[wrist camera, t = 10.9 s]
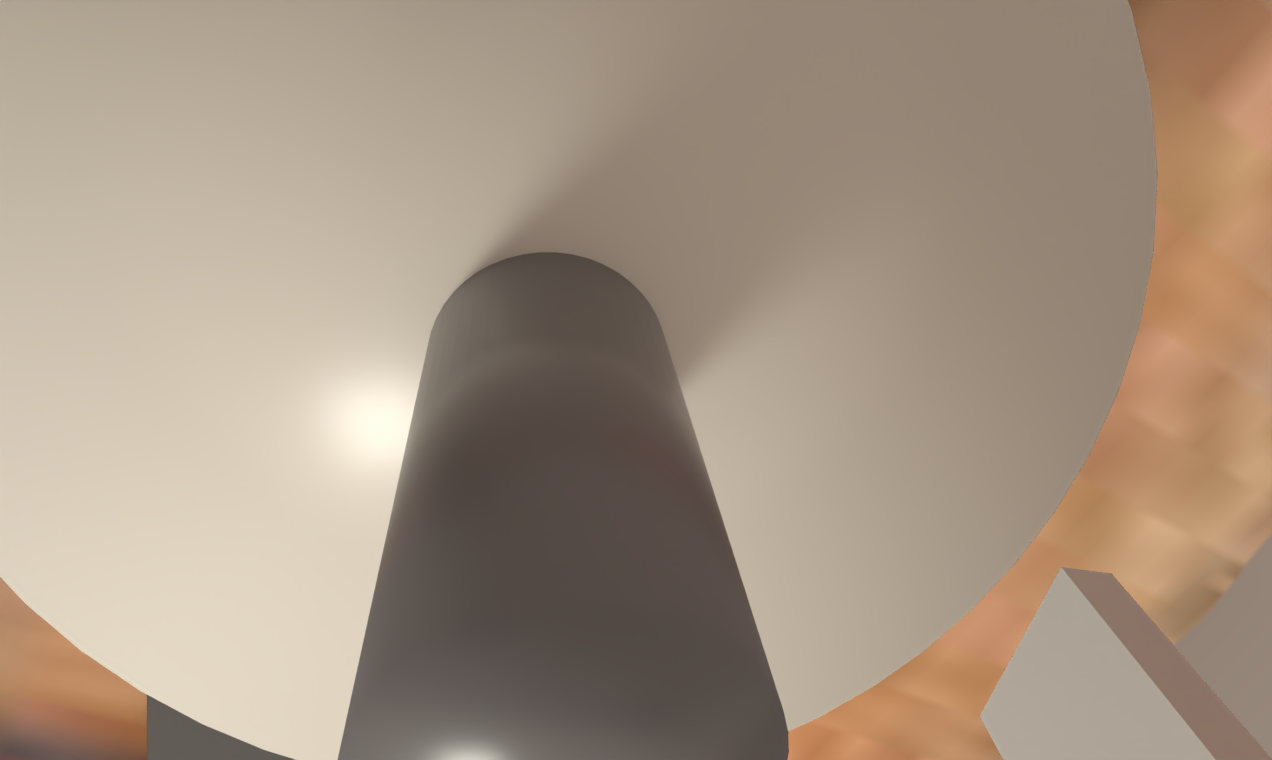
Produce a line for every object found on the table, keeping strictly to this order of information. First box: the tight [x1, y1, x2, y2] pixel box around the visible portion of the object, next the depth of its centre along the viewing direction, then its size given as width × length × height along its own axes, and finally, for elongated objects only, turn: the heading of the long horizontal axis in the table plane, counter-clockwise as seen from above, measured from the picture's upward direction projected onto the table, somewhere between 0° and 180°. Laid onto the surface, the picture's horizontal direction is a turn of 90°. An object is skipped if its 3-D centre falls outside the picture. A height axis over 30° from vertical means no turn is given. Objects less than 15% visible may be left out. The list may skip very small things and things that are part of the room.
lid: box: [0, 0, 1158, 760], centre depth 14 cm, size 23×23×10 cm
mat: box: [147, 695, 295, 760], centre depth 39 cm, size 22×22×1 cm
